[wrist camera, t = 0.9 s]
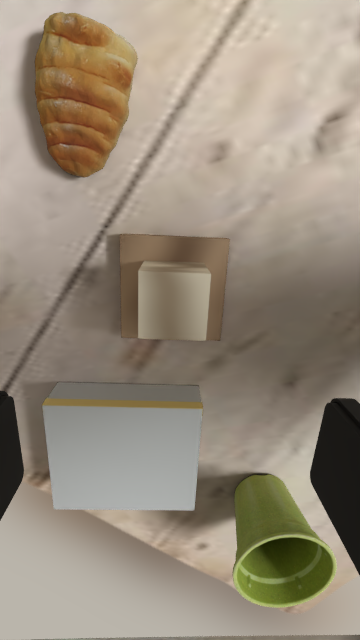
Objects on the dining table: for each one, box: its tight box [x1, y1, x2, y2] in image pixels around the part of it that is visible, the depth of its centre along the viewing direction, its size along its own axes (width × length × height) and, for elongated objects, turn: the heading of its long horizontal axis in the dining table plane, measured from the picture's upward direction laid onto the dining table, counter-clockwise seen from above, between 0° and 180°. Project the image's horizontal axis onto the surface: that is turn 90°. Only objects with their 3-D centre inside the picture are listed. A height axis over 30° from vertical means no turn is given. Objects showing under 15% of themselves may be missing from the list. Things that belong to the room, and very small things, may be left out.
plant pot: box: [233, 474, 337, 608], centre depth 32 cm, size 9×9×9 cm
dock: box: [42, 382, 203, 510], centre depth 31 cm, size 14×12×4 cm
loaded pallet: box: [120, 234, 230, 341], centre depth 25 cm, size 9×9×6 cm
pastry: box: [35, 12, 138, 177], centre depth 22 cm, size 9×7×4 cm
